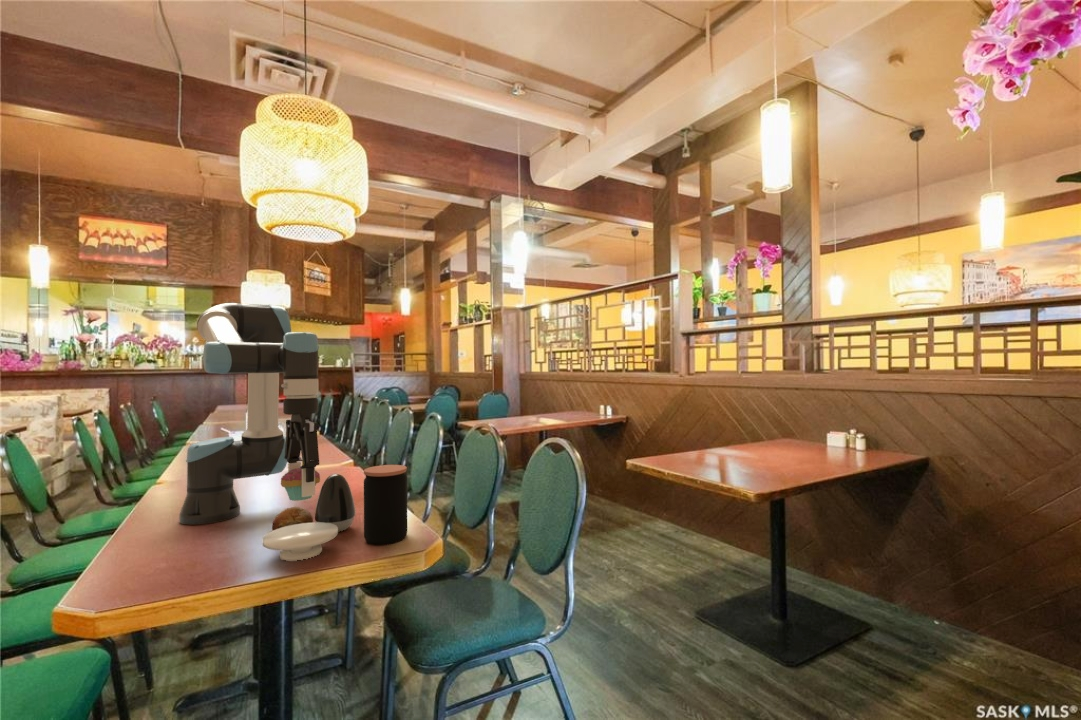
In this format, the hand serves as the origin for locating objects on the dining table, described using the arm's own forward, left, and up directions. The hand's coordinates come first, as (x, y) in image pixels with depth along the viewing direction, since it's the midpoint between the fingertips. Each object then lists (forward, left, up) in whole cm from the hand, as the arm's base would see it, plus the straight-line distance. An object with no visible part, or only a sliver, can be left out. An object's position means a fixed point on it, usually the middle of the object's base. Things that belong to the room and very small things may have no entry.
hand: (301, 492), depth 116 cm
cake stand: (0, 0, -15) cm, 15 cm away
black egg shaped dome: (-12, +13, -15) cm, 23 cm away
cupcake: (0, 0, -2) cm, 2 cm away
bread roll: (-21, +5, -15) cm, 26 cm away
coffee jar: (+5, +19, -15) cm, 25 cm away
